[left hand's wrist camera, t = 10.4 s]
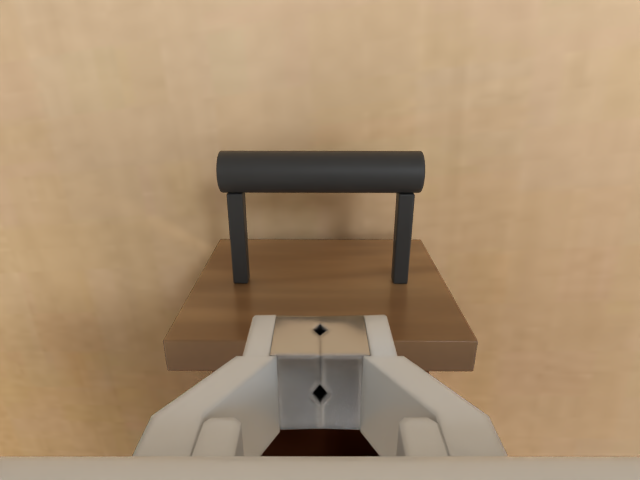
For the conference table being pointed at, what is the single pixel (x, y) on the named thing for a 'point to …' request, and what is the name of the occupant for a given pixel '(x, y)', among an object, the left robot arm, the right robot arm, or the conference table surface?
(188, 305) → the drawer
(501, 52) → the conference table surface
